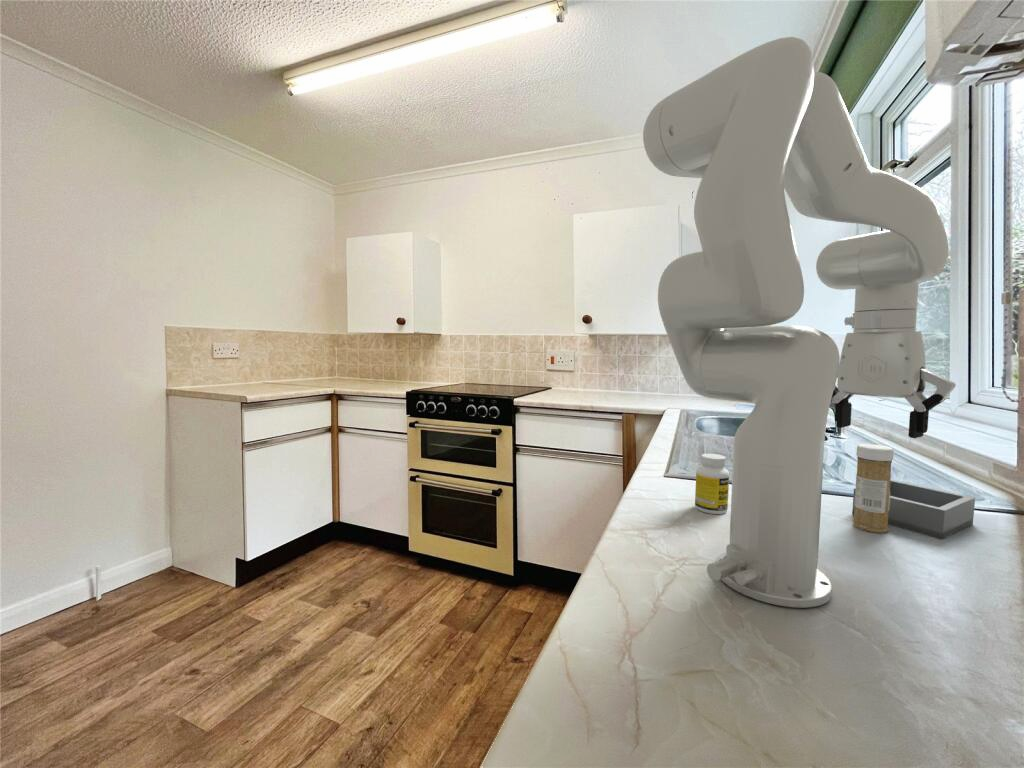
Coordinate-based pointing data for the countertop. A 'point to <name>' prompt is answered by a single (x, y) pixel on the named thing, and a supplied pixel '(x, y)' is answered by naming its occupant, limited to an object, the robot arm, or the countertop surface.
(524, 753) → the countertop surface
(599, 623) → the countertop surface
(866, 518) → the sprinkles bottle
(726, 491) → the supplement bottle
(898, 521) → the charcoal bin
